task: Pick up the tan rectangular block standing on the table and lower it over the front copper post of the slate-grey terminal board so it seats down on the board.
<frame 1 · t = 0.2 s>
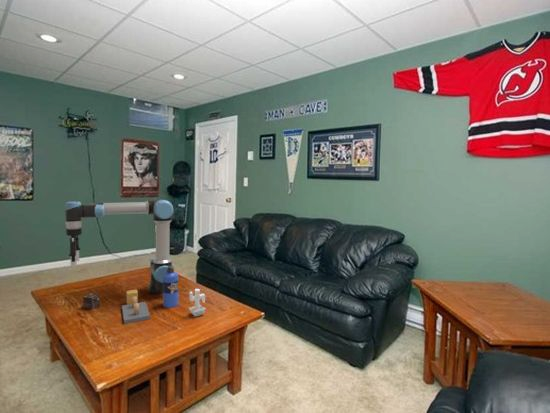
hand: (75, 264, 178), 28 cm above the table, fingers open, 13 cm apart
water bottle: (170, 305, 190), on the table
tan rectangular block: (132, 304, 190), on the table
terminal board: (135, 313, 177), on the table
box: (91, 307, 184), on the table
figurine: (197, 314, 177), on the table
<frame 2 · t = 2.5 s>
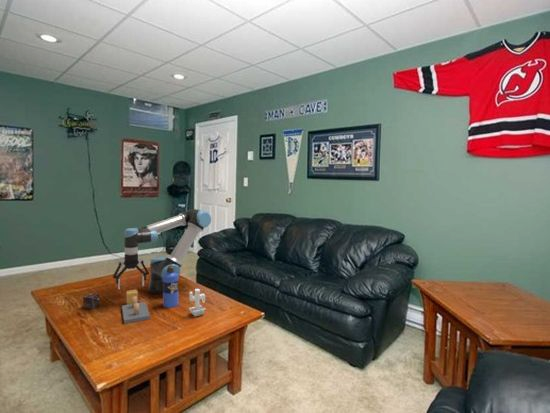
hand: (131, 287, 189), 11 cm above the table, fingers open, 13 cm apart
nothing on the table moved.
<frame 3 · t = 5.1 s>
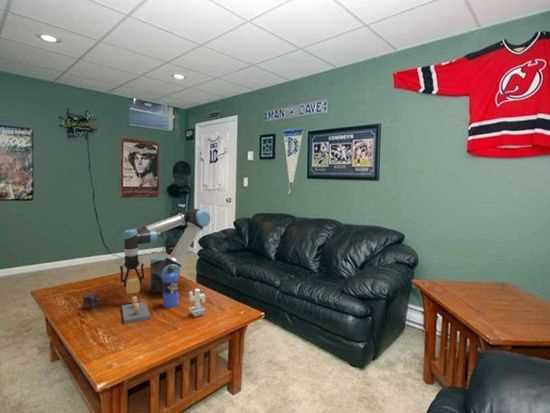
hand: (133, 290, 190), 8 cm above the table, fingers closed on tan rectangular block, 6 cm apart
tan rectangular block: (133, 291, 190), point 8 cm above the table, touching gripper
everything else where it was.
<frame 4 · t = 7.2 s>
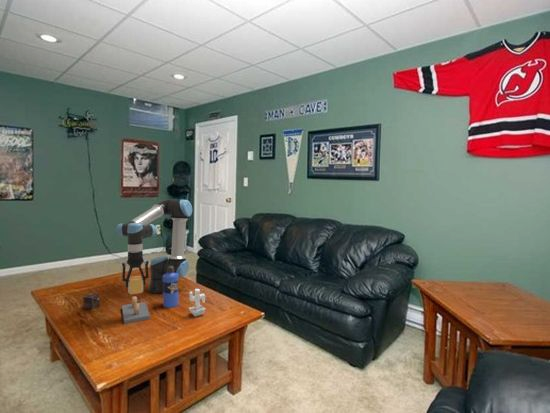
hand: (135, 291, 170), 15 cm above the table, fingers closed on tan rectangular block, 6 cm apart
tan rectangular block: (135, 291, 170), point 15 cm above the table, touching gripper
everything else where it was.
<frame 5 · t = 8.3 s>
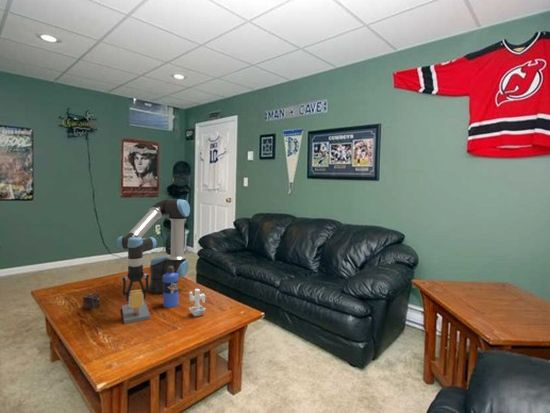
hand: (136, 305, 171), 7 cm above the table, fingers closed on tan rectangular block, 6 cm apart
tan rectangular block: (136, 305, 171), point 7 cm above the table, touching gripper
everything else where it was.
when the fingers open (3 cm above the table, at t = 9.4 s): tan rectangular block stays where it is, resting on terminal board.
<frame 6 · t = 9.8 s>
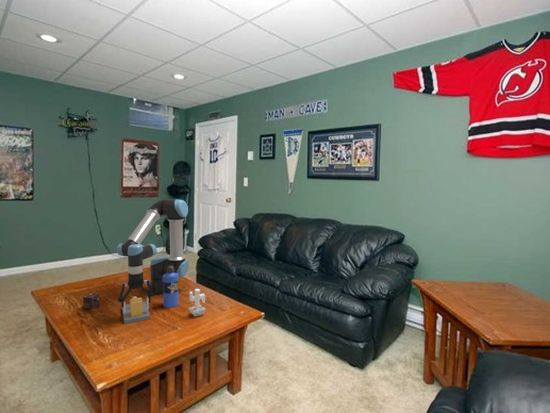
hand: (136, 310, 172), 4 cm above the table, fingers open, 11 cm apart
tan rectangular block: (136, 314, 172), point 2 cm above the table, touching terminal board
everything else where it was.
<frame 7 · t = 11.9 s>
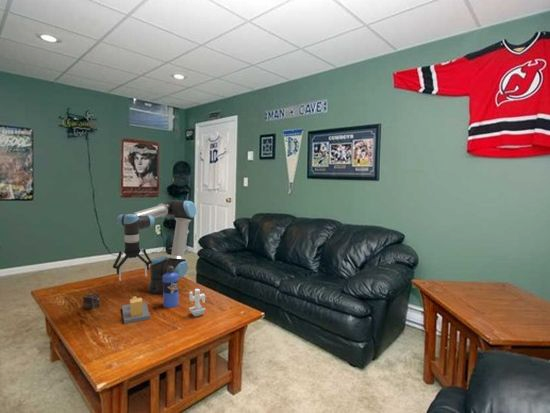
hand: (133, 277, 175), 21 cm above the table, fingers open, 13 cm apart
nothing on the table moved.
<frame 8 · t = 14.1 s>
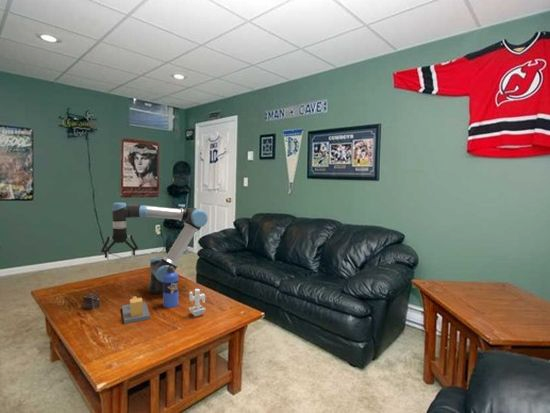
hand: (120, 261, 189), 27 cm above the table, fingers open, 13 cm apart
nothing on the table moved.
at the end: tan rectangular block 0.0 cm from the target spot on the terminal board, point 2.0 cm above the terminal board's base; tan rectangular block tilted 0°; the gripper is holding nothing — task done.
